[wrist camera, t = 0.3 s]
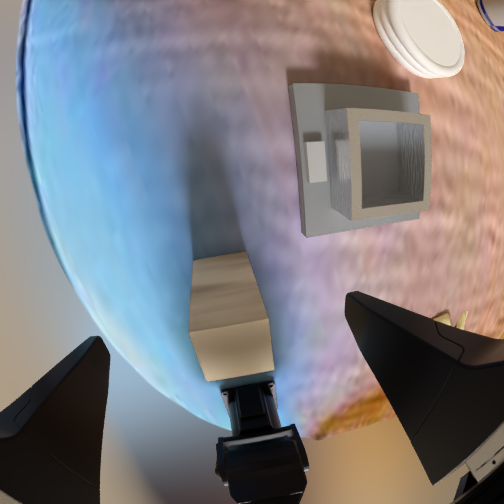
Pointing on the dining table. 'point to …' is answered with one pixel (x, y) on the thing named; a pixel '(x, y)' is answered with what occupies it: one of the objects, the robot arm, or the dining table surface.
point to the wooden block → (228, 318)
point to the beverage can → (492, 13)
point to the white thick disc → (420, 36)
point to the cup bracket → (349, 164)
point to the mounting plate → (371, 144)
